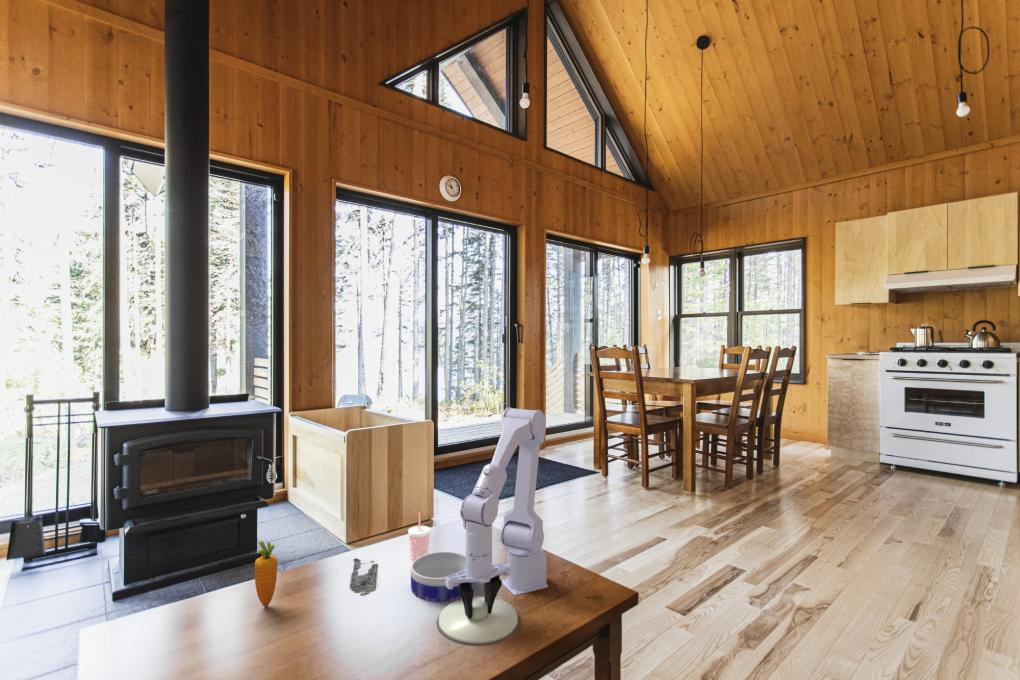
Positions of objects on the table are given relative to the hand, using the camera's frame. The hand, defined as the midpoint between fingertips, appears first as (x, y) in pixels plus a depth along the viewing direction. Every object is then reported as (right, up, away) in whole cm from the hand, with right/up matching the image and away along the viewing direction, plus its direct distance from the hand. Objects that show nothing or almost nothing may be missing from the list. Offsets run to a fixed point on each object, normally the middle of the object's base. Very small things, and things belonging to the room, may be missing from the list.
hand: (478, 613), depth 109 cm
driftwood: (-30, -2, +20) cm, 37 cm away
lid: (0, -1, 0) cm, 1 cm away
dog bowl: (-10, -2, +15) cm, 18 cm away
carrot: (-49, -2, +5) cm, 49 cm away
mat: (0, -2, 0) cm, 2 cm away
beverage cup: (-18, -2, +29) cm, 34 cm away
